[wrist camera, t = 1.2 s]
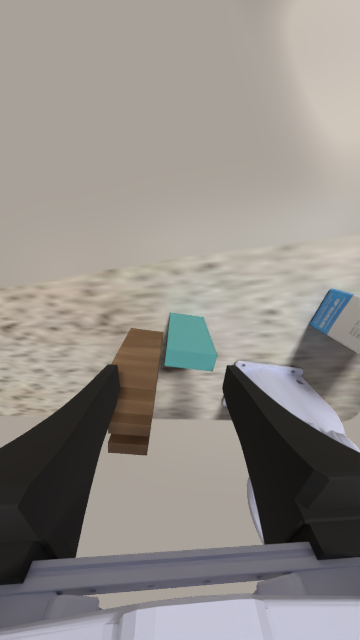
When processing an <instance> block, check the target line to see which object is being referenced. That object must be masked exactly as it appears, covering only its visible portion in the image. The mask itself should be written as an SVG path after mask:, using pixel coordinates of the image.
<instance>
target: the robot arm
mask: <svg viewBox="0 0 360 640" xmlns="http://www.w3.org/2000/svg"><path fill="white" fill-rule="evenodd" d="M243 364H244V365H243ZM241 365H243V366H241ZM292 370H293V371H292ZM303 372H304V371H303V370H302V369H301V368H296V367H288V366H279V365H271V364H263V363H255V362H246V361H237V362H236V363H235V365H227V368H226V373H225V378H224V383H223V387H222V389H223V393H224V399H223V406H226V407H227V408H228V410H229V413H230V416H231V419H232V421H233V424H234V426H235V429H236V432H237V435H238V437H239V440H240V443H241V446H242V450H243V454H244V457H245V461H246V465H247V468H248V473H249V478H248V483H247V493H248V494H247V495H248V504H249V509H250V513H251V516H252V519H253V522H254V525H255V528H256V530H257V532H258V535H259V537H260V539H261V541H262V543H263V545H254V546H240V547H225V548H211V549H198V550H183V551H169V552H155V553H141V554H127V555H111V556H97V557H83V558H76V553H77V547H78V543H79V539H80V534H81V529H82V524H83V520H84V515H85V511H86V507H87V503H88V498H89V494H90V490H91V485H92V482H93V477H94V474H95V469H96V466H97V462H98V458H99V454H100V451H101V447H102V444H103V441H104V438H105V435H106V433H107V430H108V427H109V424H110V422H111V419H112V416H113V413H114V410H115V408H116V405H117V401H118V397H119V392H120V382H119V373H118V365H107V366H106V367H105V368H104V369H103V370H102V371H101V372H100V373H99V374H98V375H97V376H96V377H95V378H94V379H93V380H92V381H91V382H90V383H89V384H88V385H87V386H86V387H85V388H83V389H82V390H81V391H80V392H79V393H78V394H77V395H76V396H75V397H73V398H72V399H71V400H70V401H69V402H68V403H66V404H65V405H64V406H63V407H61V408H60V409H59V410H58V411H56V412H55V413H54V414H52V415H51V416H50V417H48V418H47V419H45V420H44V421H42V422H41V423H39V424H38V425H37V426H35V427H33V428H32V429H31V430H29V431H28V432H26V433H24V434H23V435H21V436H20V437H18V438H16V439H15V440H13V441H11V442H10V443H8V444H6V445H5V446H3V447H1V448H0V640H360V449H359V448H358V447H357V446H356V445H355V444H354V443H353V442H352V441H351V440H350V439H349V438H348V437H347V436H345V431H344V428H343V425H342V423H341V421H340V419H339V417H338V415H337V414H336V413H335V411H334V410H333V409H332V408H331V407H330V406H329V405H328V404H327V403H326V402H325V401H324V399H323V398H322V397H321V396H320V395H319V394H318V393H317V392H316V391H315V390H314V389H313V388H312V387H311V386H310V385H309V384H308V383H307V382H306V381H305V380H304V378H303V377H302V374H303ZM258 580H264V581H261V582H258V583H257V590H256V591H255V592H254V593H253V594H250V593H249V594H228V595H212V596H196V597H185V598H175V599H167V600H159V601H151V602H146V603H139V604H132V605H127V606H121V607H116V608H111V609H105V610H103V609H101V608H99V600H98V598H97V597H87V596H83V595H94V594H106V593H118V592H130V591H141V590H153V589H165V588H177V587H188V586H199V585H212V584H224V583H235V582H246V581H258Z"/></svg>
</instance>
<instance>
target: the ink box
mask: <svg viewBox="0 0 360 640" xmlns="http://www.w3.org/2000/svg"><path fill="white" fill-rule="evenodd" d="M310 325H311V326H313V327H314V328H316V329H318V330H319V331H321V332H323V333H324V334H326V335H328V336H329V337H331V338H333V339H334V340H336V341H338V342H339V343H341V344H343V345H344V346H346V347H348V348H349V349H351V350H353V351H354V352H356V353H358V354H359V355H360V296H357V295H353V294H350V293H346V292H343V291H339V290H335V289H331V290H330V291H329V293H328V295H327V296H326V298H325V300H324V301H323V303H322V305H321V306H320V308H319V310H318V311H317V313H316V315H315V317H314V318H313V320H312V322H311V323H310Z"/></svg>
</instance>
